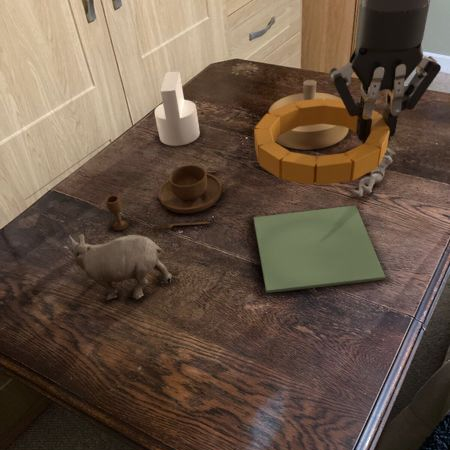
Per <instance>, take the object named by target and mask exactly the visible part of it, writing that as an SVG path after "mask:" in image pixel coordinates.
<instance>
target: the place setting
mask: <svg viewBox="0 0 450 450" xmlns="http://www.w3.org/2000/svg"><path fill="white" fill-rule="evenodd" d="M211 173H212V174H211ZM213 173H217V170H205V169H204V168H203V167H202V166H199V165H196V164H195V165H194V164H187V165H182V166H179V167H176V168H175V169H174V170H172V171H171V172H170V173H169V175H168V179H167V180H165V181H164V182H163V183H162V184H161V185H160V187H159V189H158V193H157V195H158V199H159V202H160V204H161V205H162V206H163V207H164V208H165V209H167V210H169V211H171V212H174V213H179V214H193V213H198V212H199V213H200V212H202V211H204V210H205V211H206V210H208V209H209V208H210V207H212V206H213V205H215V203H217V201H218V200H219V199H220V197H221V195H222V184H221V181H220V180H219V178H218V177H216V176H214V175H213ZM120 199H121V198H120V196H118V195H117V194H111V195H108V196H107V197H106V198H105V199H104V202H105V205H106V208H107V211H108V212H109V213H110V214H111V215H114V220H115V222H114V223H113V224H112V229H113V230H114V231H117V232H119V231H123V230H125V229H127V228H128V227H129V223H128V221H127V220H124V219H122V217H121V215H120V213H121V211H122V203H121V200H120ZM155 224H156V225H154V227H155V228H160V229H161V228H162V229H172V228H173V227H177V226H179V227H180V226H200V225H209V224H211V222H210V221H201V222H200V221H199V222H179V223H178V222H177V223H166V222H158V221H155Z"/></svg>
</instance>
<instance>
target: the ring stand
mask: <svg viewBox="0 0 450 450" xmlns="http://www.w3.org/2000/svg"><path fill="white" fill-rule="evenodd" d="M320 98H323V100H325V99H326V98H327V99H335V100H342V99H341V97H340V96H339V97H338V96H337V95H333V94H330V93H324V92H317V81H316V80H315V79H306V80H304V81H303V82H302V92H300V93H295V94H291V95H287V96H285V97H282V98H280V99H278V100H277V101H275V102H273V104H271V106H270V108H269V109H268V112H270V111H273V110H275V109H277V108H280V107H282V106H284V105H287V104H289V103H293V104H294V102H296V101H304V100H312V99H320ZM349 130H350V129H348V128H346V127H342V126H335V125H328V124H316V125H308V126H300V127H297V128H294V129H292V130H290V131H288V132H286V133H283V134H281V135H280V136H279V137H278V138H277V140H276V141H275V143H277V144H278V145H280V146H282V147H285V148H290V149H294V150H304V151H305V150H318V149H324V148H327V147H331V146H333V145H336V144H337V143H339V142H341V141H343V139H345V138H346V136H347V135H348V133H349Z"/></svg>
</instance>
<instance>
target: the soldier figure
mask: <svg viewBox="0 0 450 450" xmlns="http://www.w3.org/2000/svg"><path fill="white" fill-rule="evenodd" d="M393 156H397V153H396V152H395V151H394V150H393V149H391V148H389V147H387V150H386V152H385V154H384V156H383V158H382V160H381V162H380V165H379V166H377V168H376V169H374V170H372V171H370V172H368V173H367V174H370V176H365V177H363V178H361V179H360V180H359V182H358V190H355V189H351V193H352V194H353V195H354V196H357V197H358V198H363V194H364V192H366V193H367V194H372V192H373V191H372V190H373V187H374V185H375V184H377V183H380V182H381V181H382V180H383V179H384V177H385V171H386V170H387V169H388V166H389V165H390V164H392V163H393V161H394V160H393V158H392V157H393Z"/></svg>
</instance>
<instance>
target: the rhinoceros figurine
mask: <svg viewBox="0 0 450 450" xmlns="http://www.w3.org/2000/svg"><path fill="white" fill-rule="evenodd" d="M68 238H69V239H70V241H71V248H69V247H68V246H65V245H64V246H62V249H64V250H70V252H71V253H72V254H73V255H74V257H75V259H74V263H76V265H77V266H78V267H79V268H80V269H81V270H82V271H84V272H85V274H86V276H87V277H88V278H89V279H90V280H93V281H95V282H96V284H97V285H99V287H102V288H104V289H105V290H106V291H107V292H108V295H107V297H106V301H110V300H112V299H116V298H117V297H118V295H117V294H118V290H117V289H116V287H114V285H113V283H123V282H124V281H127V280H131V279H133V280H135V281H136V285H135V288H134V292H133V295H132V296H131V298H132V297H133V298H134V299H136V300H138V299H140V298H141V297H143V296H145V295H144V293H143V289H144V288H146V286H148V285H149V280H147V275H148V274H149V273H151V271H152V270H155V271H157V272H159V273H160V274H161V278H160V283H161V284H169V283H170V282H171V281H172V277H173V276H172V274H171V273H170V272H169V271H168V269H167V267H166V266H165V265H164V263H162V262H161V260H160V259H159V256H160V255H159V254H161V253H163V248H161V247H160V246H159V245H158V244H157V243H156V242H154V241H153V240H152V239H150V238H149V237H147V236H143V235H139V234H128V235H124V236H123V235H122V236H119V237H117V238H114V239H112V240H110V241H107V242H105V243H102V244H101V243H99V244H89V243H86V242H85V235H84V234H83V233H81V234H80V235H78V237H77V239H78V242H77V241H76V240H75V239H74V238H73V236H71V235H70V234H69V235H68ZM169 279H170V280H169ZM168 280H169V281H168Z"/></svg>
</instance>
